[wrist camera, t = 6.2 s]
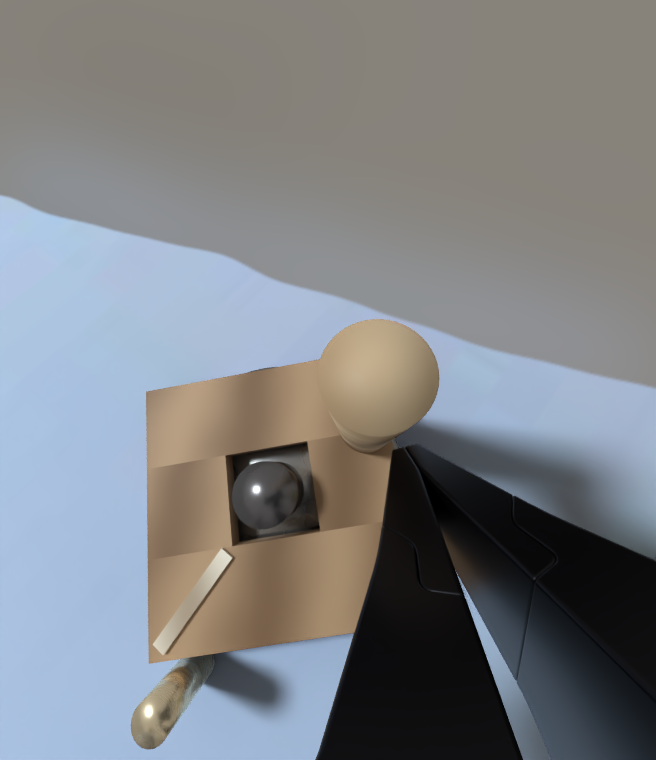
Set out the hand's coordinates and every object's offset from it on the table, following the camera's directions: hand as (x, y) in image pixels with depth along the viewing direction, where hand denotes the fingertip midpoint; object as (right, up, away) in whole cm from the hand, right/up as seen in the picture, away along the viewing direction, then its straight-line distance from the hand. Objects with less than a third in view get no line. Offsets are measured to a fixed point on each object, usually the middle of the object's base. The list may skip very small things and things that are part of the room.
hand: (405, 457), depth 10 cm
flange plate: (-5, -3, +7) cm, 9 cm away
